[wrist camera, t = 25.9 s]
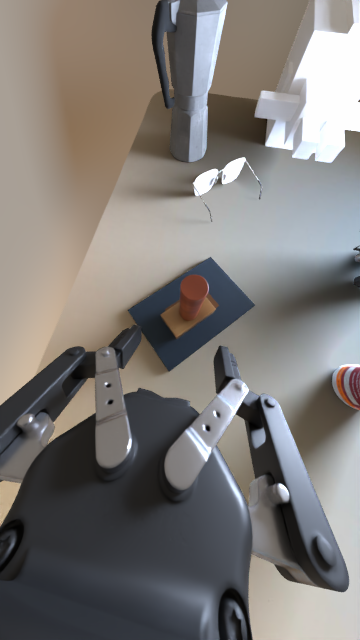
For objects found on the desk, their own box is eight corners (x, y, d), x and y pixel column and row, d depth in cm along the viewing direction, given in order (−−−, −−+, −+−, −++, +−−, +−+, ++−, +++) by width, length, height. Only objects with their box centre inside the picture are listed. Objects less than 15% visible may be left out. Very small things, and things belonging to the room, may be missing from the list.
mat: (169, 371, 21) (169, 371, 20) (128, 311, 23) (127, 310, 23) (253, 306, 24) (255, 305, 23) (209, 259, 26) (210, 256, 25)
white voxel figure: (237, 186, 34) (247, 109, 39) (338, 201, 33) (335, 121, 38) (280, 67, 19) (288, -31, 24) (462, 89, 19) (431, -17, 24)
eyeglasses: (239, 177, 32) (248, 153, 28) (259, 202, 31) (272, 181, 27) (189, 198, 30) (192, 176, 26) (209, 226, 29) (215, 207, 25)
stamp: (176, 340, 21) (176, 326, 11) (162, 320, 22) (150, 290, 12) (211, 315, 22) (238, 283, 12) (196, 297, 23) (210, 253, 13)
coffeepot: (192, 131, 36) (205, -75, 19) (218, 147, 35) (260, -61, 17) (149, 157, 33) (119, -58, 16) (177, 176, 32) (176, -40, 14)
